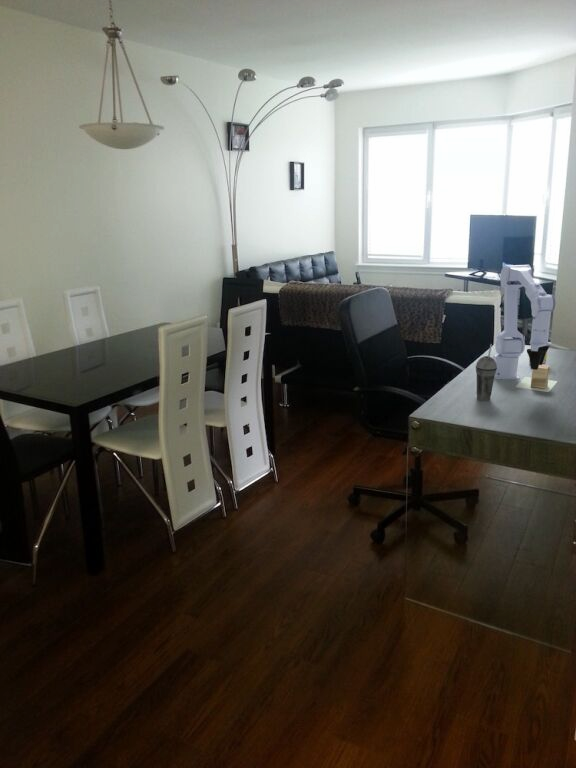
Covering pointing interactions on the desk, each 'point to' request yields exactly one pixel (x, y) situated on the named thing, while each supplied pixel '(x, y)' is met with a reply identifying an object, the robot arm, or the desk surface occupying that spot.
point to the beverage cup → (485, 376)
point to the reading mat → (527, 385)
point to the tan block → (540, 377)
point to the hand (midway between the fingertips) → (536, 367)
